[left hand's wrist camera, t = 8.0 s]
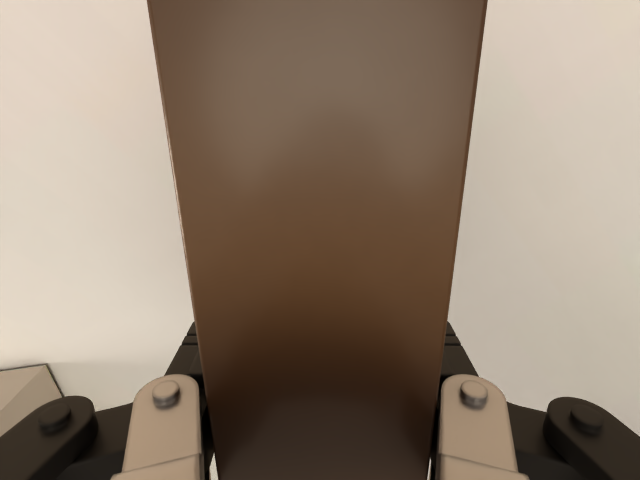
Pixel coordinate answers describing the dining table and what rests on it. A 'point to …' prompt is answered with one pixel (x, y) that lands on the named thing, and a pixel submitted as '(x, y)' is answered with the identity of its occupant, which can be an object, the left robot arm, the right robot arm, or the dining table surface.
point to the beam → (319, 220)
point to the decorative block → (24, 393)
